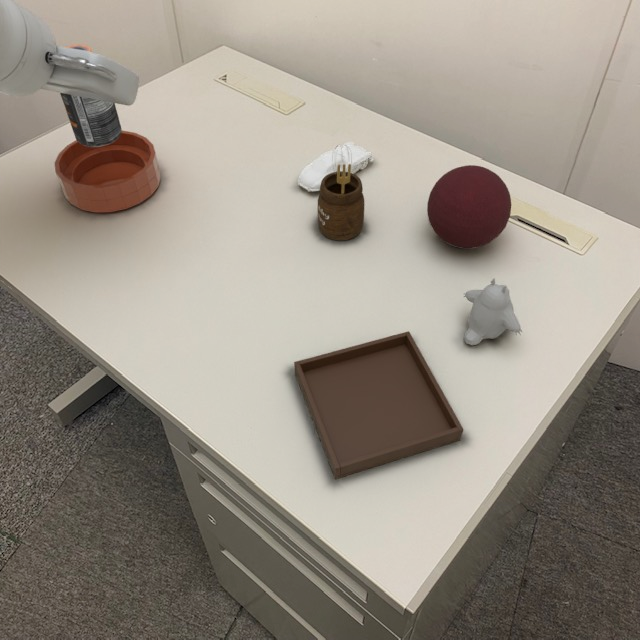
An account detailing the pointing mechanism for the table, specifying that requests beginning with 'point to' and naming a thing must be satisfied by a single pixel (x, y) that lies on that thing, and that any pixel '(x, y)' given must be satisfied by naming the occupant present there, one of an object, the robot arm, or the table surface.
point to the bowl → (108, 173)
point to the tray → (375, 404)
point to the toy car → (333, 165)
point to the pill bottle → (92, 117)
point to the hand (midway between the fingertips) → (89, 91)
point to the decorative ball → (469, 206)
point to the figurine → (490, 313)
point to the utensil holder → (341, 203)
